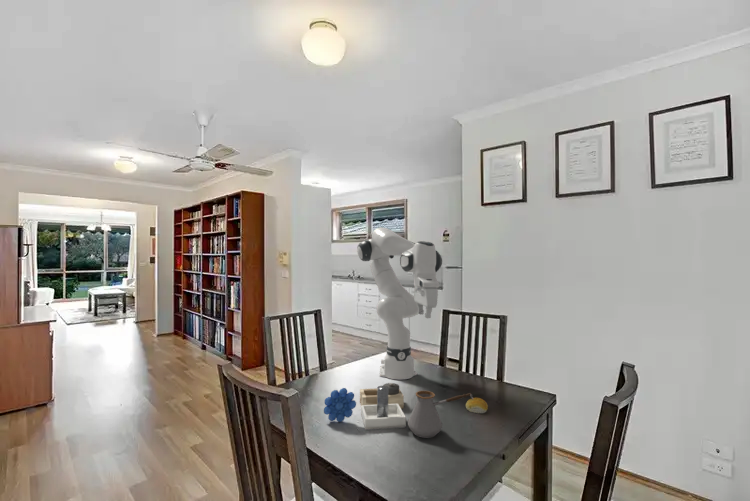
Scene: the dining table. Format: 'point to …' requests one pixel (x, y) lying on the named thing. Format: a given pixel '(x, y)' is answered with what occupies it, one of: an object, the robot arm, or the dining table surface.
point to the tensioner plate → (393, 395)
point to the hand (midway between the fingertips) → (424, 316)
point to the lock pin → (382, 401)
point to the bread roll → (476, 405)
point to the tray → (392, 421)
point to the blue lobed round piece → (339, 405)
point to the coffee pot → (427, 414)
